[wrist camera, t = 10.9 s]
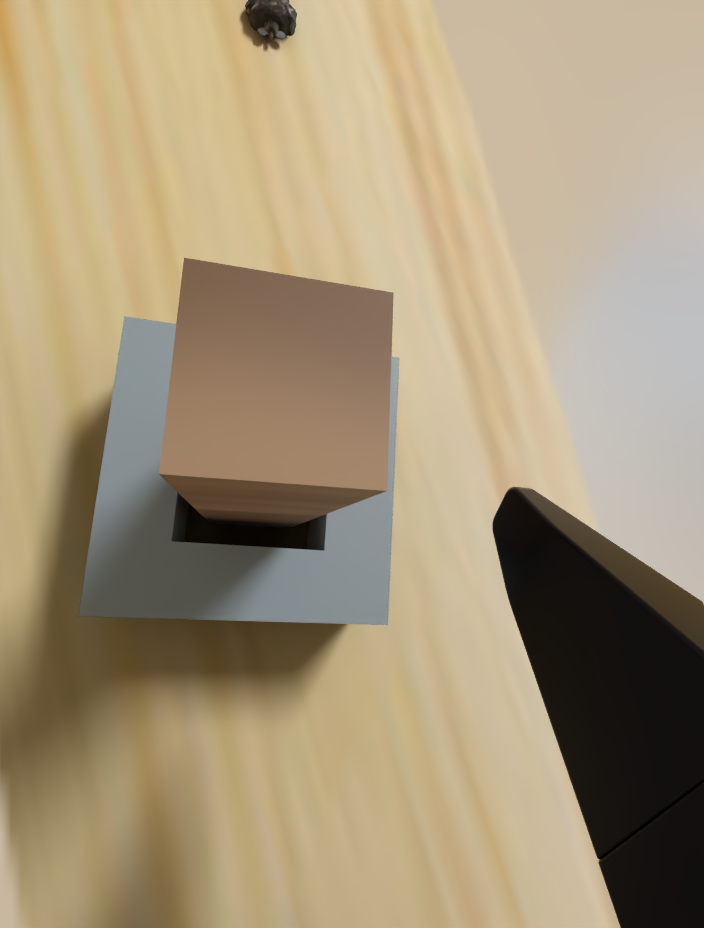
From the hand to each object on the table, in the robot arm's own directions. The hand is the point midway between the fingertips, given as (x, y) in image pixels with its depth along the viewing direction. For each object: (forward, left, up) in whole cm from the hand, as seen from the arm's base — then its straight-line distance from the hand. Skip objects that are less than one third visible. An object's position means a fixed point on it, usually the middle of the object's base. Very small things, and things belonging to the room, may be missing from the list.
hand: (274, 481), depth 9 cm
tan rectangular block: (+1, 0, -11) cm, 11 cm away
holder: (+1, 0, -11) cm, 11 cm away
